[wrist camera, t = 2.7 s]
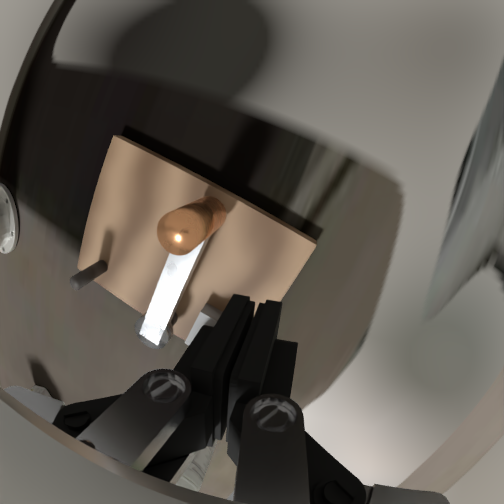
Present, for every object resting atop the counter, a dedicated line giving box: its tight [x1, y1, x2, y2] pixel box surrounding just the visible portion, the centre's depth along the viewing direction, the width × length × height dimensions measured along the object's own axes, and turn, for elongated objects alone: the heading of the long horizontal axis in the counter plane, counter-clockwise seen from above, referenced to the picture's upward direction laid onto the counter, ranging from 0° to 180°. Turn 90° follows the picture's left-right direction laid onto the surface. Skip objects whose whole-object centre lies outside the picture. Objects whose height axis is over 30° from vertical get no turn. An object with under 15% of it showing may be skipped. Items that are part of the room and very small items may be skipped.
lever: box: [135, 196, 226, 349], centre depth 26 cm, size 18×4×7 cm, turn 152°
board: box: [70, 136, 317, 345], centre depth 29 cm, size 24×18×7 cm
